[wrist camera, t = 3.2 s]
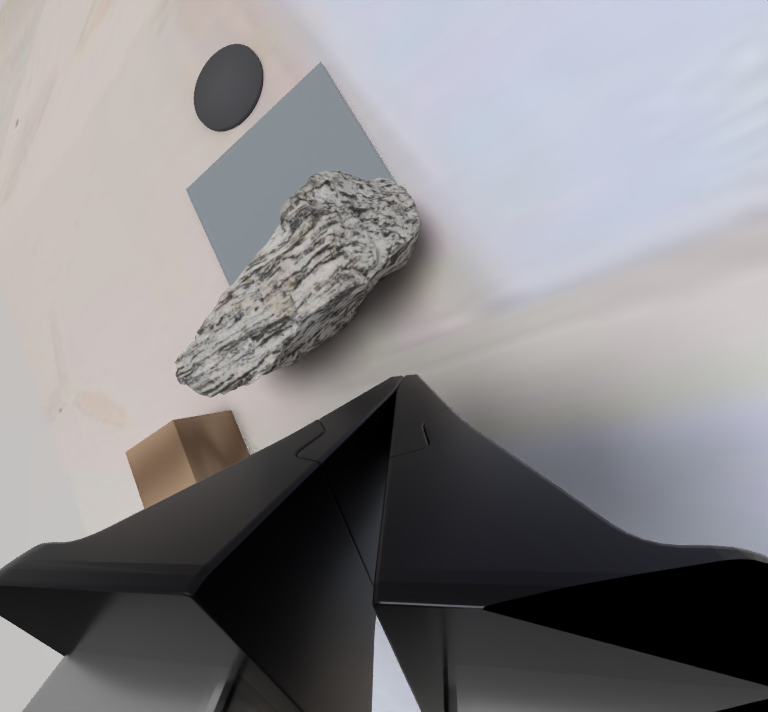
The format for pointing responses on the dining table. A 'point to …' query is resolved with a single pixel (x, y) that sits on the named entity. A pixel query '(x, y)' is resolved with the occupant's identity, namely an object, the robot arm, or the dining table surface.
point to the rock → (303, 280)
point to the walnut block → (185, 454)
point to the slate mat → (279, 168)
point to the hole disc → (228, 87)
